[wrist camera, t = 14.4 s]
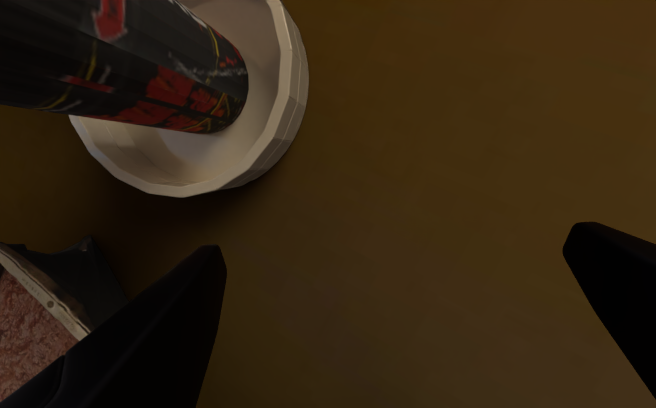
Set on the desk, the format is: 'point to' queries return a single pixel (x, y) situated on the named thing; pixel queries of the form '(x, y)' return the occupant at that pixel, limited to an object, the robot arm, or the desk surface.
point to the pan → (237, 139)
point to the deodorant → (120, 63)
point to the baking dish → (50, 305)
